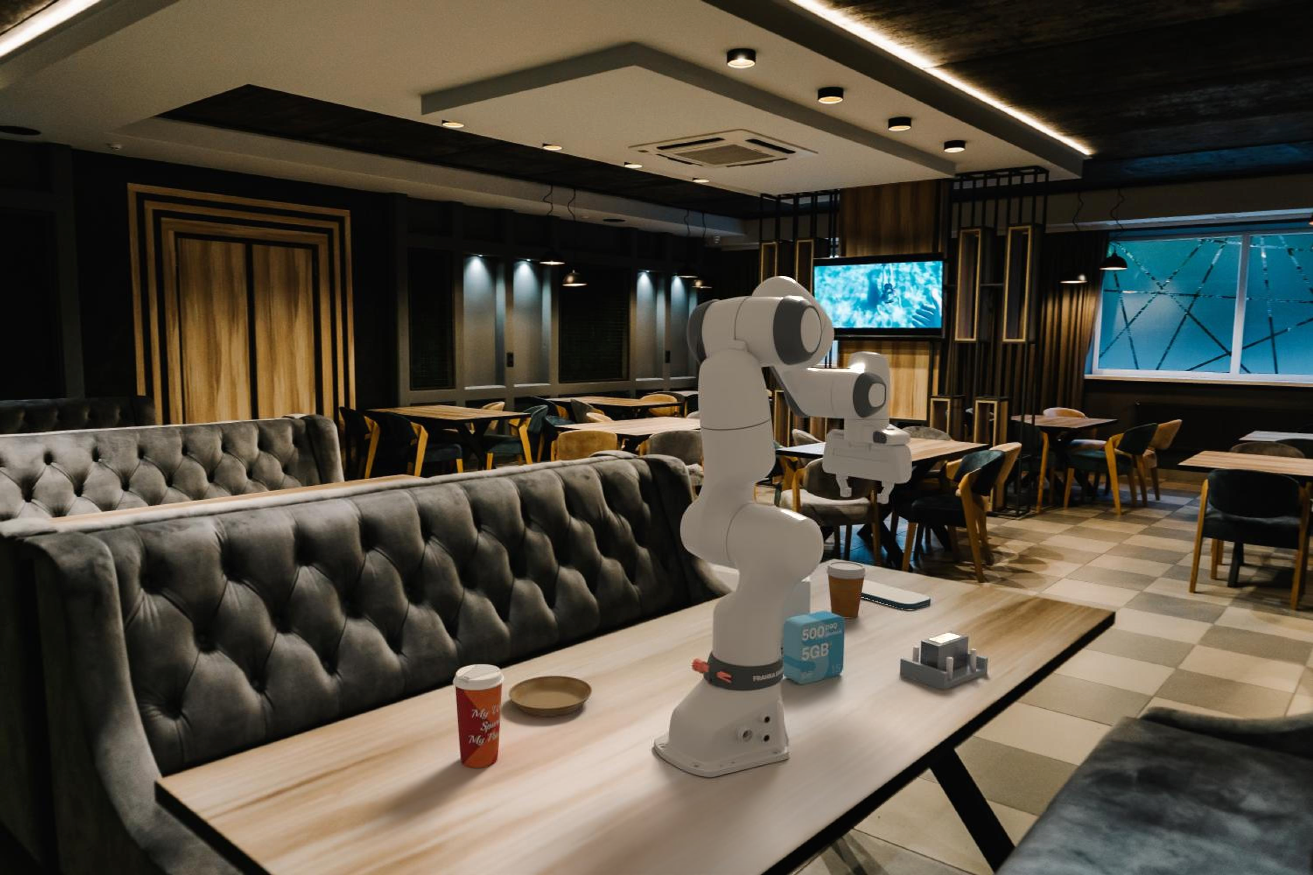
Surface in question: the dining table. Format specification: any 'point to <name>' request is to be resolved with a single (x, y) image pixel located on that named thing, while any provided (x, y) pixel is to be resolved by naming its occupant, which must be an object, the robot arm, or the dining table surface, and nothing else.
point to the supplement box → (797, 602)
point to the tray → (942, 678)
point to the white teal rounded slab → (894, 596)
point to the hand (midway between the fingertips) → (863, 499)
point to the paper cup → (478, 713)
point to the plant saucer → (550, 695)
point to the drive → (945, 650)
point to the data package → (813, 647)
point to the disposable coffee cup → (845, 587)
